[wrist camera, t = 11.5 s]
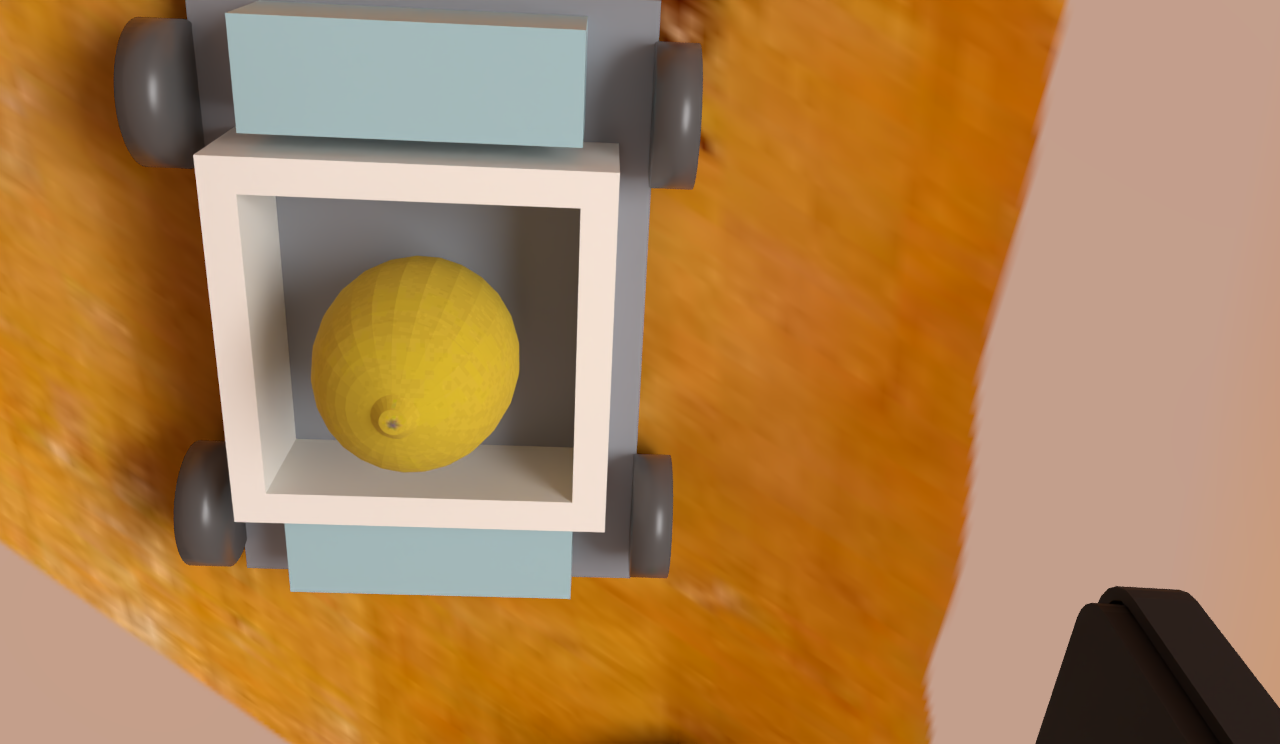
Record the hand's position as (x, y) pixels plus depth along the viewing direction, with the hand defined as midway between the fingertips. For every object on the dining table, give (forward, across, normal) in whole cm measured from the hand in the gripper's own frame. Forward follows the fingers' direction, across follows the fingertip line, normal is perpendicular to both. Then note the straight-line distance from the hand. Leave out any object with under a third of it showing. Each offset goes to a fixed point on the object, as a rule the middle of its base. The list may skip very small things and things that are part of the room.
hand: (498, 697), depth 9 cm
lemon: (+25, +3, +8) cm, 27 cm away
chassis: (+26, +4, +8) cm, 28 cm away
